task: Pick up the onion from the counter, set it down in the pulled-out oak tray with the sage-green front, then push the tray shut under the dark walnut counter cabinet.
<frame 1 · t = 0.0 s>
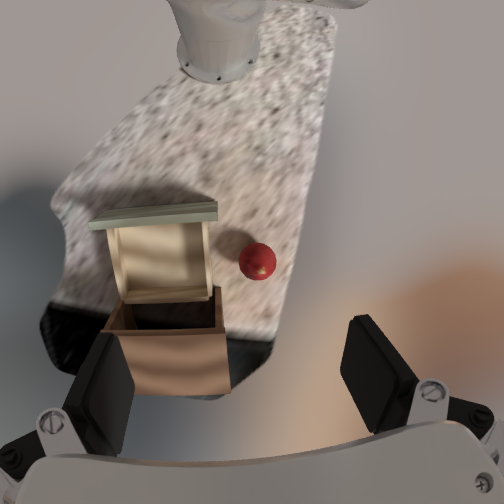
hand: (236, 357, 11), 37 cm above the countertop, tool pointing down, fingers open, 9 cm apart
cabinet: (175, 318, 52), on the countertop
onion: (254, 252, 49), on the countertop
tray: (159, 257, 43), point 4 cm above the countertop, slide at 11.0 cm
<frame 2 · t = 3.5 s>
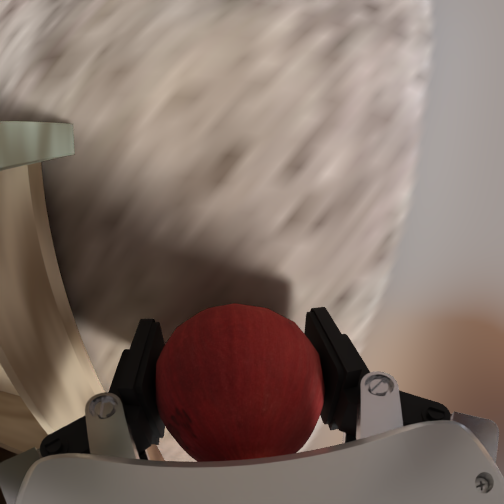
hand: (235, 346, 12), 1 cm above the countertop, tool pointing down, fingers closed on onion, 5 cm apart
cabinet: (61, 440, 16), on the countertop
onion: (232, 323, 13), on the countertop, touching gripper
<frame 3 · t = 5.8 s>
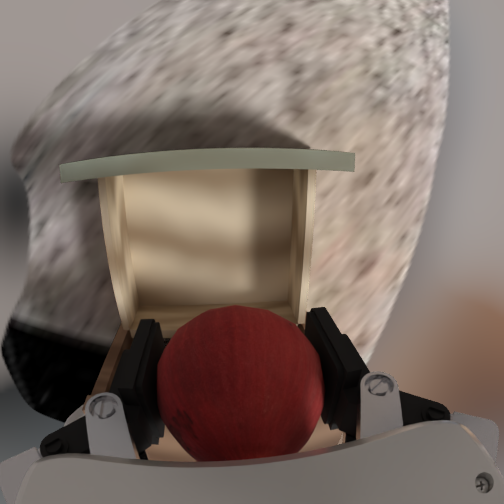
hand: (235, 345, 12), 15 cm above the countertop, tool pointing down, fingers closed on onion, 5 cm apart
cabinet: (217, 354, 31), on the countertop
onion: (232, 325, 13), point 14 cm above the countertop, touching gripper
tray: (207, 247, 22), point 4 cm above the countertop, slide at 11.0 cm
when the fingers open (4 cm above the countertop, at t = 8.5 s): onion drops 1 cm, resting on tray.
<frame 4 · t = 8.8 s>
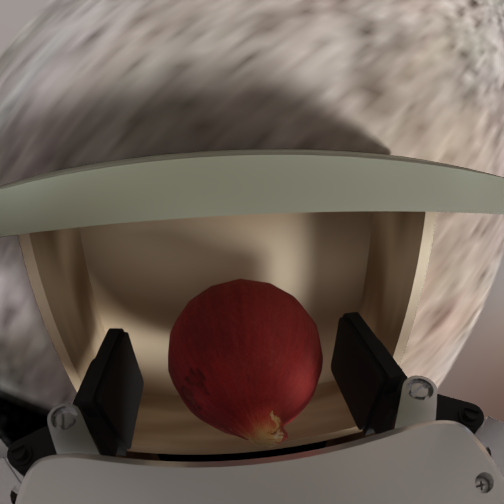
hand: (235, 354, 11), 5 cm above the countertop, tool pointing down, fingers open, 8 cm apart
cabinet: (240, 435, 20), on the countertop
onion: (235, 305, 14), point 1 cm above the countertop, touching tray
tray: (234, 341, 12), point 4 cm above the countertop, slide at 11.0 cm, touching onion
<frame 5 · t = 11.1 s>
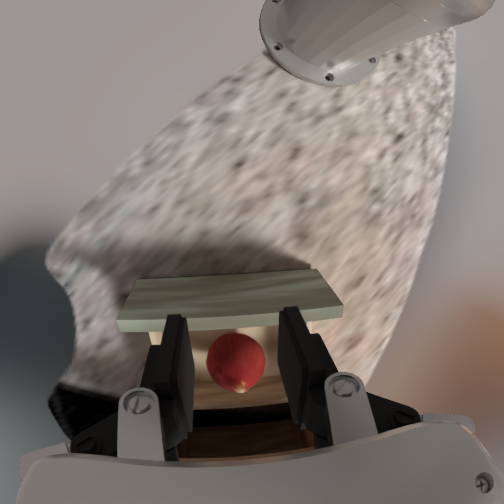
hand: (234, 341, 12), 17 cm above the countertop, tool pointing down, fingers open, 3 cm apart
cabinet: (236, 406, 37), on the countertop
onion: (233, 338, 31), point 1 cm above the countertop, touching tray
tray: (232, 355, 28), point 4 cm above the countertop, slide at 11.0 cm, touching onion
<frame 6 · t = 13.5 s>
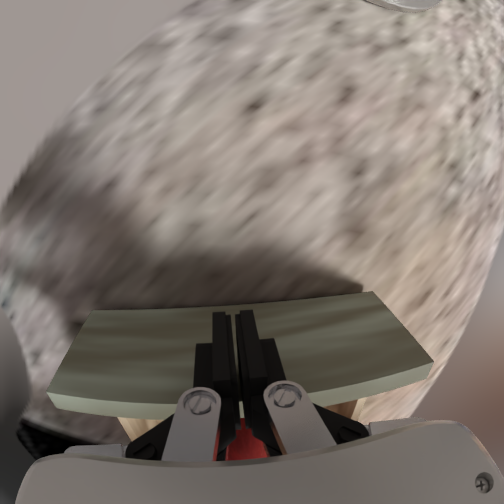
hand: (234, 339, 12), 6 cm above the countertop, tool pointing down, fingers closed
onion: (243, 393, 19), point 1 cm above the countertop, touching tray
tray: (243, 424, 17), point 4 cm above the countertop, slide at 10.4 cm, touching gripper, onion
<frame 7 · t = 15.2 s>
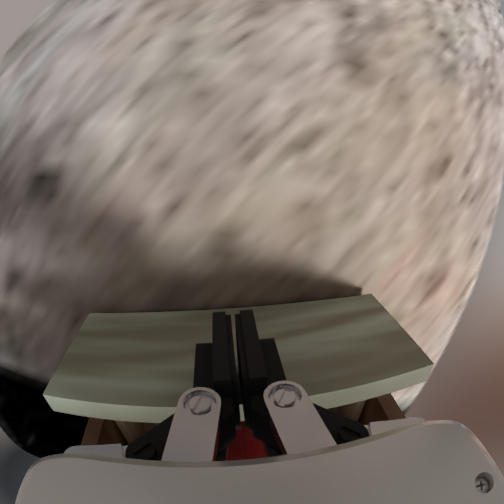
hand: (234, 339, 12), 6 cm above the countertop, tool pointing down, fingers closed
cabinet: (238, 406, 21), on the countertop
onion: (241, 397, 19), point 1 cm above the countertop, touching tray
tray: (241, 428, 16), point 4 cm above the countertop, slide at -0.1 cm, touching gripper, onion
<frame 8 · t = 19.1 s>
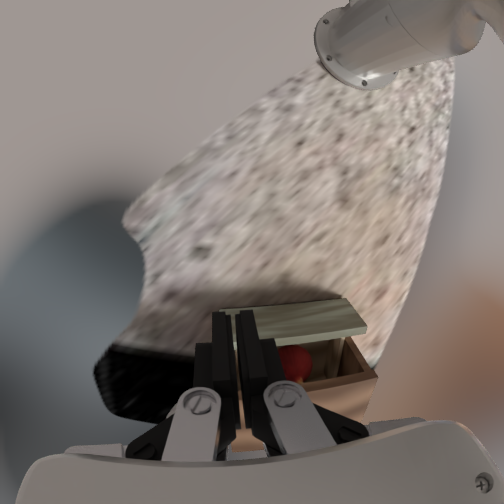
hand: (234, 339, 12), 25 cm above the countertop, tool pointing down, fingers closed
cabinet: (282, 356, 45), on the countertop
onion: (286, 347, 42), point 1 cm above the countertop, touching tray
tray: (288, 360, 40), point 4 cm above the countertop, slide at 0.0 cm, touching onion
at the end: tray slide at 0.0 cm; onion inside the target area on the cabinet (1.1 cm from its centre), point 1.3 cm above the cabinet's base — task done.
